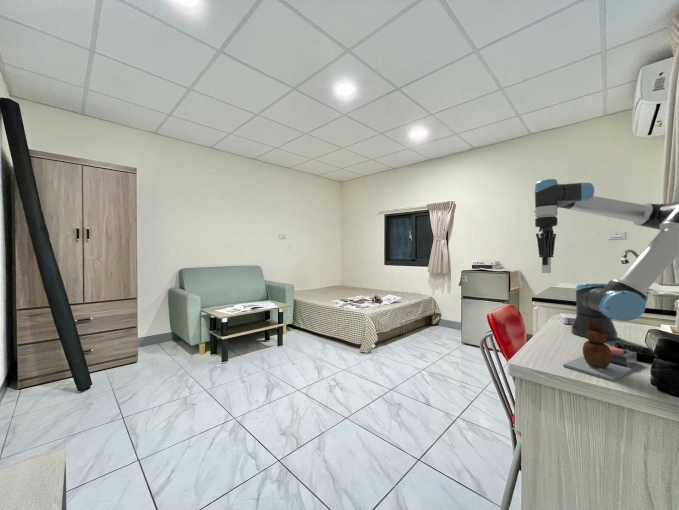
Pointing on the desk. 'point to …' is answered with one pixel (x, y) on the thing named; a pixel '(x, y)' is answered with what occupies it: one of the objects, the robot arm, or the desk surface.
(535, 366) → the desk surface
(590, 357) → the wooden figurine
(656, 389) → the desk surface
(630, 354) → the button housing
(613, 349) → the button
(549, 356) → the desk surface
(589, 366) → the slate board
